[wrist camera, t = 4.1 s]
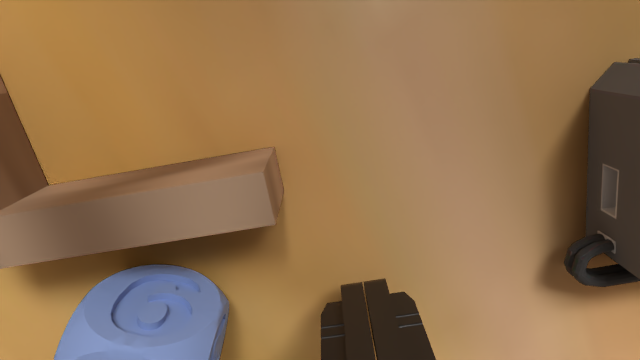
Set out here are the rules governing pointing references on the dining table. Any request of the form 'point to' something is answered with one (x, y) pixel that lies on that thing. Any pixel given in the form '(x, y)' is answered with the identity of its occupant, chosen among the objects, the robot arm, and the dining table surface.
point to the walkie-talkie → (612, 180)
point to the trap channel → (126, 201)
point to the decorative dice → (148, 317)
